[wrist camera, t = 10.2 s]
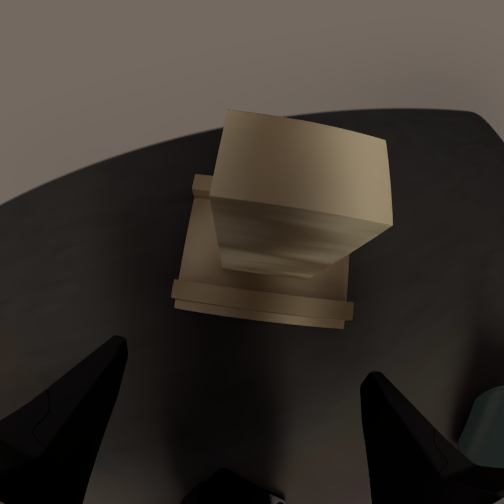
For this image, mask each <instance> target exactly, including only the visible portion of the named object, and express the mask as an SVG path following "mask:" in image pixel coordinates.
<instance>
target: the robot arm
mask: <svg viewBox="0 0 504 504" xmlns="http://www.w3.org/2000/svg"><path fill="white" fill-rule="evenodd" d="M127 358H128V350H127V342H126V339H125V338H124V337H120V336H116V335H115V336H113V337H112V338H110V339H109V340H108V341H107V342H105V343H104V344H103V345H101V346H100V347H99V348H98V349H96V350H95V351H94V352H92V353H91V354H90V355H89V356H87V357H86V358H85V359H84V360H82V361H81V362H80V363H78V364H77V365H76V366H75V367H73V368H72V369H71V370H70V371H68V372H67V373H66V374H65V375H63V376H62V377H61V378H60V379H58V380H57V381H56V382H55V383H53V384H52V385H51V386H50V387H48V389H46V390H44V391H43V392H42V393H41V394H39V395H38V396H37V397H35V398H34V399H33V400H32V401H30V402H29V403H27V404H26V405H24V406H23V407H21V408H20V409H18V410H16V411H15V412H13V413H12V414H10V415H8V416H7V417H5V418H3V419H2V420H0V504H83V500H84V497H85V493H86V490H87V489H86V488H87V486H88V482H89V479H90V476H91V472H92V469H93V466H94V463H95V460H96V457H97V454H98V450H99V447H100V444H101V442H102V439H103V436H104V433H105V430H106V427H107V424H108V421H109V419H110V416H111V413H112V410H113V408H114V405H115V402H116V400H117V397H118V393H119V389H120V385H121V381H122V377H123V373H124V369H125V366H126V362H127ZM360 395H361V413H362V425H363V432H364V439H365V446H366V453H367V461H368V469H369V478H370V487H371V498H372V504H504V468H496V467H486V466H480V465H477V464H475V463H473V462H472V461H470V460H469V459H468V458H467V457H465V456H464V455H463V454H462V453H461V452H460V451H458V450H457V449H456V448H455V447H454V446H453V445H452V444H451V443H449V442H448V441H447V440H446V439H445V438H444V437H443V436H442V435H441V434H440V433H439V432H438V431H437V430H436V429H435V428H434V427H433V426H432V424H431V423H430V422H429V421H428V420H427V419H426V418H425V417H424V416H423V415H422V414H421V413H420V412H419V411H418V410H417V409H416V408H415V407H414V406H413V405H412V404H411V403H410V402H409V401H408V400H407V399H406V398H405V397H404V395H403V394H402V393H401V392H400V391H399V390H398V389H397V388H396V387H395V386H394V385H393V384H392V383H391V382H390V381H389V380H388V379H387V378H386V377H385V376H384V375H383V374H382V373H381V372H370V373H369V374H368V376H367V377H366V378H365V380H364V381H363V382H362V384H361V387H360ZM221 473H225V474H226V475H224V476H223V475H221ZM278 502H282V503H281V504H286V501H285V499H284V498H282V497H280V496H278V495H276V494H273V493H271V492H269V491H267V490H265V489H263V488H261V487H259V486H257V485H255V484H253V483H251V482H249V481H247V480H246V479H244V478H242V477H240V476H238V475H236V474H235V473H233V472H231V471H229V470H228V469H225V468H220V469H219V470H217V471H216V472H215V473H214V474H213V475H212V476H211V477H210V478H209V479H208V480H207V481H206V482H200V483H199V484H198V485H197V486H196V487H195V488H194V489H193V490H192V491H190V492H189V493H188V494H187V495H186V496H185V497H184V498H183V501H182V504H277V503H278Z"/></svg>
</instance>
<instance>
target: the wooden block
mask: <svg viewBox="0 0 504 504" xmlns="http://www.w3.org/2000/svg"><path fill="white" fill-rule="evenodd" d="M209 197H210V203H211V208H212V214H213V220H214V225H215V231H216V236H217V242H218V247H219V253H220V258H221V263H222V269H229V270H236V271H243V272H251V273H258V274H266V275H273V276H281V277H289V278H297V279H305V280H308V279H310V278H311V277H313V276H314V275H316V274H318V273H319V272H321V271H323V270H324V269H326V268H327V267H329V266H331V265H332V264H334V263H335V262H337V261H339V260H340V259H342V258H343V257H345V256H347V255H348V254H350V253H351V252H353V251H354V250H356V249H357V248H359V247H361V246H362V245H364V244H365V243H367V242H368V241H370V240H371V239H373V238H374V237H376V236H377V235H379V234H380V233H382V232H383V231H385V230H386V229H388V228H389V227H391V226H392V225H393V220H392V200H391V186H390V175H389V165H388V156H387V147H386V140H383V139H379V138H376V137H372V136H368V135H364V134H361V133H357V132H353V131H349V130H345V129H340V128H336V127H332V126H327V125H322V124H318V123H313V122H308V121H302V120H297V119H291V118H285V117H279V116H272V115H265V114H259V113H251V112H243V111H234V110H228V112H227V116H226V121H225V125H224V129H223V134H222V138H221V142H220V147H219V152H218V156H217V161H216V166H215V170H214V175H213V180H212V185H211V190H210V195H209Z"/></svg>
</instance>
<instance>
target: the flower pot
mask: <svg viewBox="0 0 504 504" xmlns="http://www.w3.org/2000/svg"><path fill="white" fill-rule="evenodd" d="M458 445H459V449H460V452H461V453H462V454H463V455H464V456H465V457H467V458H468V459H469V460H470V461H472V462H473V463H475V464H477V465H480V466H486V467H496V468H504V386H499V387H495V388H493V389H490V390H488V391H486V392H484V393H483V394H481V395H480V396H478V397H477V398H476V399H475V401H474V403H473V406H472V409H471V412H470V414H469V417H468V420H467V422H466V425H465V427H464V429H463V432H462V434H461V436H460V438H459V441H458Z"/></svg>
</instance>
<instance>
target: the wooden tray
mask: <svg viewBox="0 0 504 504" xmlns="http://www.w3.org/2000/svg"><path fill="white" fill-rule="evenodd" d="M212 180H213V176H209V175H200V174H195V178H194V182H193V186H192V191H193V194H194V202H193V206H192V211H191V216H190V221H189V226H188V231H187V236H186V241H185V247H184V252H183V257H182V263H181V269H180V275H179V280H177V279H174V282H173V288H172V294H171V298H174V299H175V306H174V308H176V309H182V310H188V311H194V312H200V313H207V314H214V315H220V316H227V317H234V318H242V319H249V320H257V321H266V322H274V323H283V324H293V325H303V326H313V327H324V328H337V329H344V322H345V320H353V310H354V302H346V299H347V286H348V270H349V254H348V255H347V256H345V257H343V258H342V259H340V260H339V261H337V262H335V263H334V264H332V265H331V266H329V267H327V268H326V269H324V270H323V271H321V272H319V273H318V274H316V275H314V276H313V277H311V278H310V279H308V280H305V279H297V278H289V277H281V276H273V275H266V274H258V273H251V272H243V271H236V270H229V269H222V263H221V258H220V253H219V247H218V242H217V236H216V231H215V225H214V220H213V214H212V208H211V203H210V197H209V195H210V190H211V185H212Z"/></svg>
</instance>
